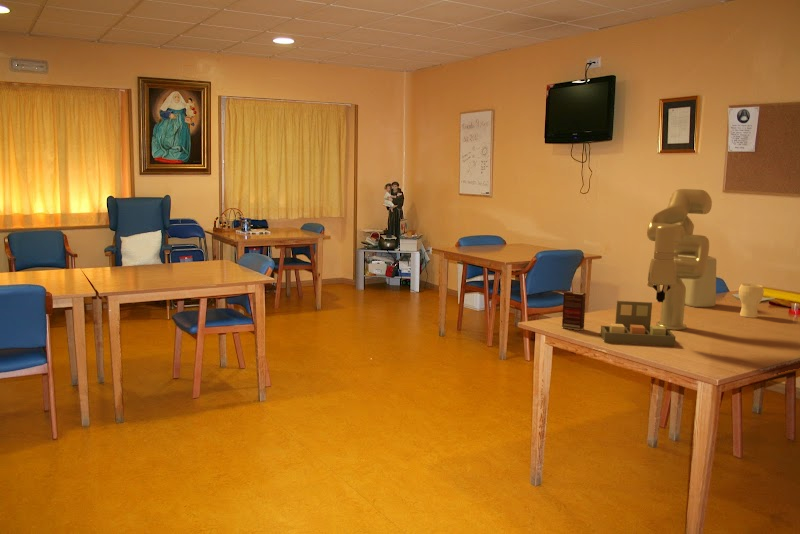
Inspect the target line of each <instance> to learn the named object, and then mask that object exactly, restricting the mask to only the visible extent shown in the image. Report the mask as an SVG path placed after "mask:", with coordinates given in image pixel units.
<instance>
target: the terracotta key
mask: <svg viewBox="0 0 800 534" xmlns="http://www.w3.org/2000/svg"><path fill="white" fill-rule="evenodd" d="M630 334H645V327H644V326H643V325H630Z"/></svg>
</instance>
